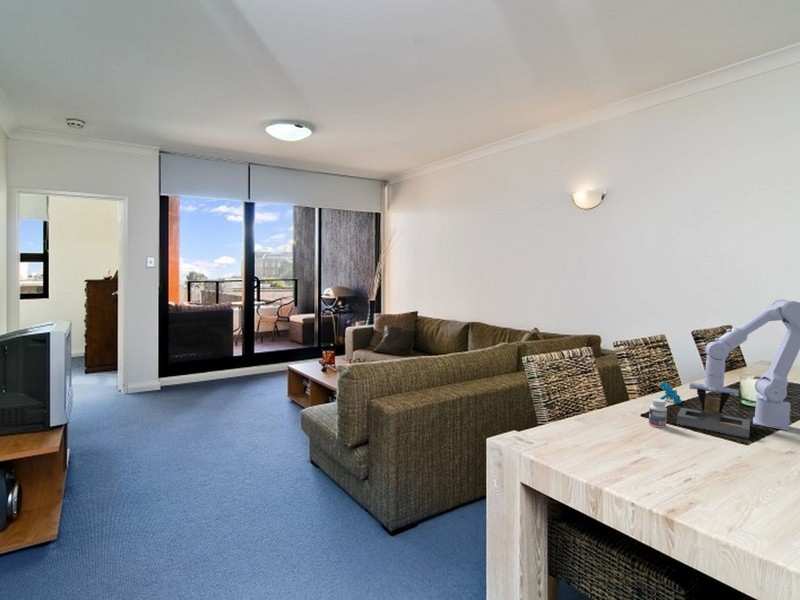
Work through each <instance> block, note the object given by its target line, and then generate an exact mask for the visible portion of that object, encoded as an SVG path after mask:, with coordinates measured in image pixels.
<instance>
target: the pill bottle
mask: <svg viewBox="0 0 800 600" xmlns="http://www.w3.org/2000/svg"><path fill="white" fill-rule="evenodd" d="M666 403H667V402H666V400H665V399H663V400H662V399H660V398H652V399H651V404H650V406H649V413H648V424H649V425H650V426H651V427H655V428H659V427H660V429H661V428H663V427H664V428H666V427H667V415H668V408H667V407H666ZM664 428H663V429H664Z"/></svg>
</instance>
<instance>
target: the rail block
mask: <svg viewBox="0 0 800 600" xmlns="http://www.w3.org/2000/svg"><path fill="white" fill-rule="evenodd" d="M679 424H680V426H684V425H685V427H689V428H695V429H700V430H704V429H705V431H709V430H710V432H713V431H715V432H714V433H718V432H720V433H719V434H723V433H724V434H725V435H729V436H734V437H739V438H742V439H744V438H745V439H750V430H751V428H750V427H751V420H750V419H746V418H741V417H736V416H730V415H724V414H720V413H719V414H714V413H709V412H704V411H703V410H697V409H692V408H686V407H680V409H679V411H678V413H677V415H676V425H679Z"/></svg>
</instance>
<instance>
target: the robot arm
mask: <svg viewBox="0 0 800 600" xmlns="http://www.w3.org/2000/svg"><path fill="white" fill-rule="evenodd" d="M776 321H781V322H782V323H783V325H784V326H785V328H786V331H785V334H784V336H783V338H782V340H781V342H780V344H779V345H778V346H779V347H778V348H777V351H776V353H775V355H774V357H773V359H772V361H771V364H770V366H769V368H768V370H766V371H765V372H764V373H762V375H761V377H760V378H759V379H757V381H756V382H755V383H754V389H755V390H756V392H757V394H756V399H755V410H754V411H755V412H754V416H753V417H752V425H757V426H762V427H769V428H773V429H778V430H785V431H789V429H790V428H789V426H790V424H791V418H790V417H791V416H790V414H791V402H788V401H787V402H786V401H784V400H785V399H786V398H787V395H788V392H787V389H788V386H789V381H788V376H789V373H790V371H791V369H792V366H793V365H794V363H795V360H796V358H797V356H798V355H799V352H800V302H798V301H796V300H795V301H794V300H787V299H777V300H775V301H773V303H772V304H769V305H767V306H766V307H764V308H763V310H761V311H760V312H758V313H757V314H756V315H754V316H753V317H752V318H751V319H749V320H748V321H746V322H745V323H744V324H743V325H742V326H740V327H732V328H728V329H726V330H725V331H726V332H725V333H724V334H722V335H721V336H719V337H716V338H714V341H710V342H708V343H707V344H706V347H704V353H705V354H706V361H705V370H704V372H705V373H704V383H696V382H695V383H694V382H690V383H689V390H696V392H697V396H698V398H699V401H700V404H701V411H703V412H704V406H705V398H706V396H707V392H710V393H716V394H720V409H719V414H720V415H722V411H723V409H724V406H725V405H726V403H727V401H728V400H729V399H730V396H734V397H739V391H740V390H739V389H733V388H731V387H730V388H729V387H725V386H724V384H725V373H726V358H728V356H729V355H730V352H732V351H733V350H735V349H736V348H737V347H739V346H741V345H742V344H743V343H745V342H746V341H747V340H748V335H750V334H751V333H753V332H755V331H756V330H758V329H759V328H761V327H763V326H765V325H766V324H767V323H769V322H776Z"/></svg>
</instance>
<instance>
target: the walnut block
mask: <svg viewBox="0 0 800 600" xmlns="http://www.w3.org/2000/svg"><path fill="white" fill-rule="evenodd" d="M720 400H721V397H720V398H718V397H712V396H709V395H708V396H707V395H706V396H705V406H704V411H703V412H709V413H714V414H720V413H719V409H720Z"/></svg>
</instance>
